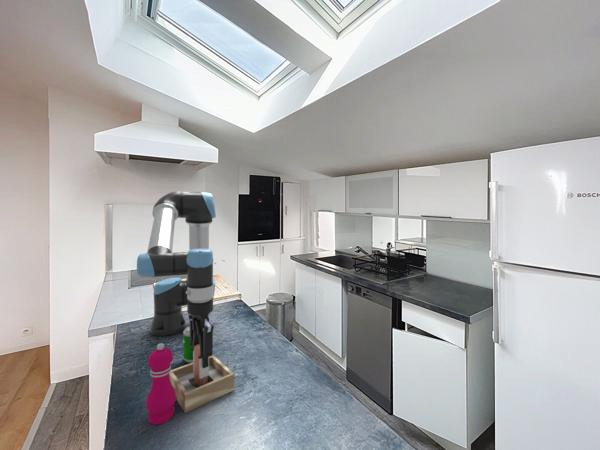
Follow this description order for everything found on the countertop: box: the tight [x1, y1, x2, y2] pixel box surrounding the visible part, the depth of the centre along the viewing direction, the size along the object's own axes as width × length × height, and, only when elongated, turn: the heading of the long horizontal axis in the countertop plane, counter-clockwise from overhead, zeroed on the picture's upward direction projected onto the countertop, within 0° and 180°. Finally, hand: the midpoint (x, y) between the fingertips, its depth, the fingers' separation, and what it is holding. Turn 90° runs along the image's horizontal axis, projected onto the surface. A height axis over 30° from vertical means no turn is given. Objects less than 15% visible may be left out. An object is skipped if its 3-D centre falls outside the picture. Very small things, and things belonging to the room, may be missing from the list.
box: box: [169, 354, 235, 413], centre depth 86 cm, size 15×15×5 cm
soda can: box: [182, 325, 203, 364], centre depth 103 cm, size 8×8×12 cm
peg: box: [193, 344, 209, 389], centre depth 85 cm, size 4×4×12 cm
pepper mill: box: [145, 342, 177, 425], centre depth 74 cm, size 7×7×20 cm
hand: (200, 373), depth 86 cm, fingers closed on peg, 4 cm apart
